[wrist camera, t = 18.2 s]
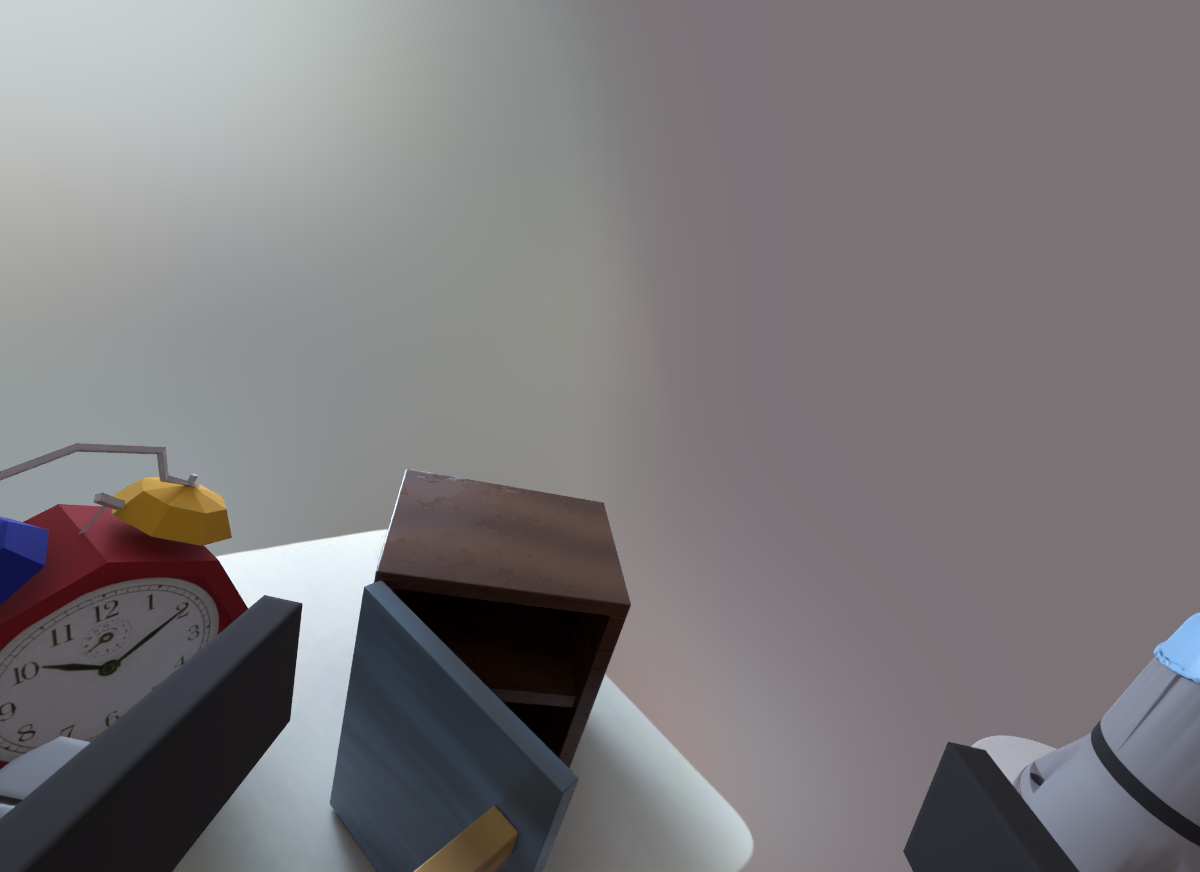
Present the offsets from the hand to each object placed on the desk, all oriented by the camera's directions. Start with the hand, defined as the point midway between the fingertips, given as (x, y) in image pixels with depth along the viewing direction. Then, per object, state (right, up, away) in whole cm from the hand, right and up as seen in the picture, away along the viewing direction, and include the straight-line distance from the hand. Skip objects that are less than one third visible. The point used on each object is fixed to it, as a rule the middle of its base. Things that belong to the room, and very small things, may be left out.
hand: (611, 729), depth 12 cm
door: (-13, -20, +20) cm, 31 cm away
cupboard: (-10, -15, +33) cm, 37 cm away
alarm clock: (-32, -12, +26) cm, 42 cm away
